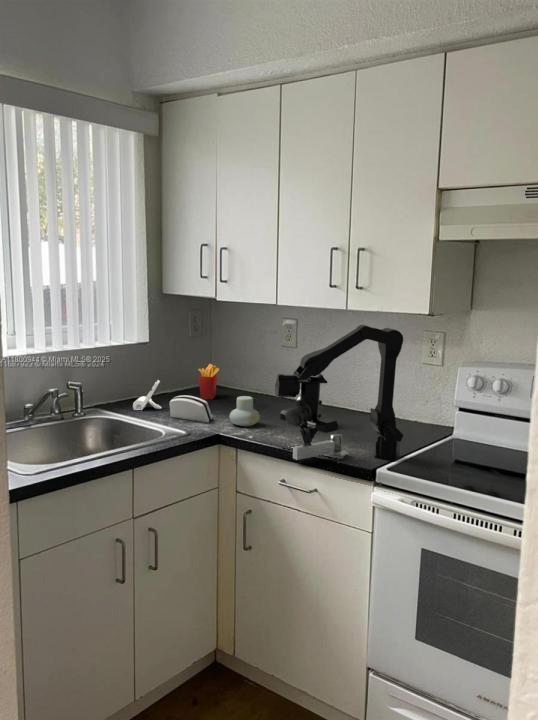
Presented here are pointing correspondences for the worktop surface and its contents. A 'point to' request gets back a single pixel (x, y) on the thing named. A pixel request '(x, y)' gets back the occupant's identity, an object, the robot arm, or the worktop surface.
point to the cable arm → (318, 448)
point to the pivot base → (337, 454)
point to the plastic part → (146, 400)
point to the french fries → (208, 382)
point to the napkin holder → (190, 408)
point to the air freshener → (244, 412)
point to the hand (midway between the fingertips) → (306, 447)
